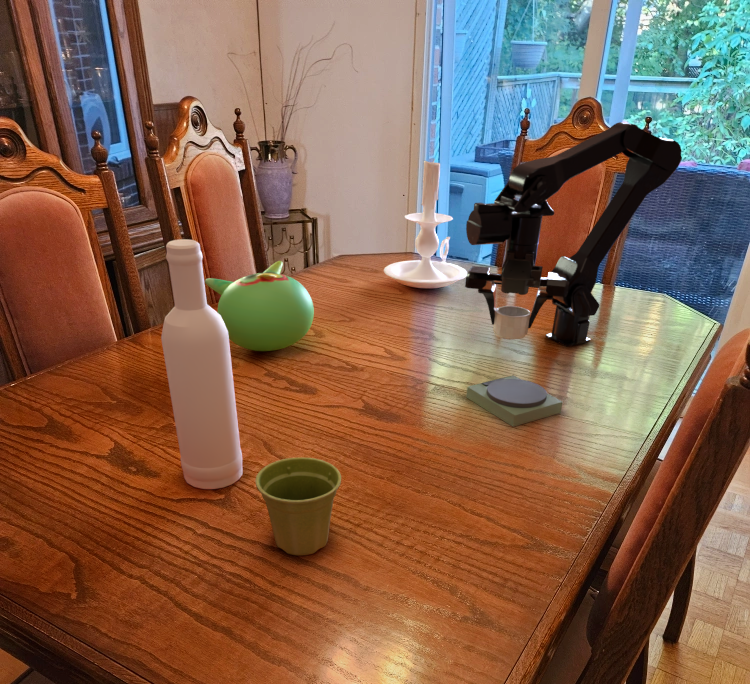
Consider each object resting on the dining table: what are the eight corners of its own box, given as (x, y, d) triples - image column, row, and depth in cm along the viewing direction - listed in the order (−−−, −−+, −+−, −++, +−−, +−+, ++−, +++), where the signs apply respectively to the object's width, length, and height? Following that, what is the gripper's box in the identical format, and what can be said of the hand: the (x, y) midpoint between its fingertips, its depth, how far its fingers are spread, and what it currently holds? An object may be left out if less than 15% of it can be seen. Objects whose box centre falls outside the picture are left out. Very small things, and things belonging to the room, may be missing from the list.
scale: (466, 397, 111) (467, 382, 110) (511, 385, 116) (514, 370, 114) (513, 426, 103) (515, 410, 101) (560, 412, 107) (563, 397, 106)
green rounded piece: (241, 370, 119) (232, 288, 111) (207, 340, 131) (198, 264, 122) (329, 352, 127) (327, 274, 119) (290, 325, 139) (286, 253, 131)
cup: (486, 331, 131) (488, 308, 129) (511, 326, 134) (514, 303, 131) (508, 342, 126) (511, 319, 124) (534, 336, 129) (537, 313, 127)
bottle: (176, 467, 91) (137, 238, 74) (232, 454, 94) (206, 231, 78) (194, 496, 85) (155, 254, 69) (252, 481, 89) (229, 247, 72)
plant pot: (263, 518, 82) (258, 457, 77) (340, 516, 82) (339, 455, 77) (259, 567, 74) (252, 502, 69) (343, 564, 75) (343, 500, 70)
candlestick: (483, 276, 173) (496, 155, 157) (447, 301, 154) (458, 168, 139) (411, 265, 180) (416, 149, 165) (369, 288, 162) (370, 160, 146)
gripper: (465, 248, 116) (457, 334, 125) (575, 256, 112) (559, 345, 121) (473, 234, 125) (465, 316, 134) (575, 242, 121) (560, 325, 130)
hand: (510, 325), depth 129 cm, fingers closed on cup, 7 cm apart
